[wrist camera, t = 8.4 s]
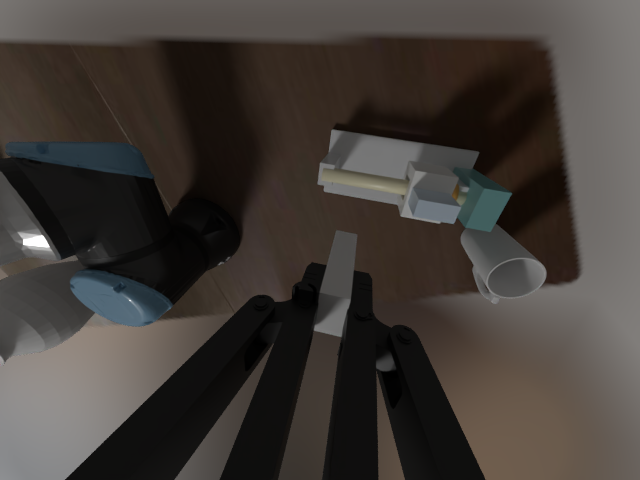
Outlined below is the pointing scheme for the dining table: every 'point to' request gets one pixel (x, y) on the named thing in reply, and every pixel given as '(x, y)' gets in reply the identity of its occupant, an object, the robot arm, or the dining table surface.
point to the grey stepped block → (429, 193)
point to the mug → (501, 264)
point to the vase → (39, 309)
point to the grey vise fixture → (389, 168)
